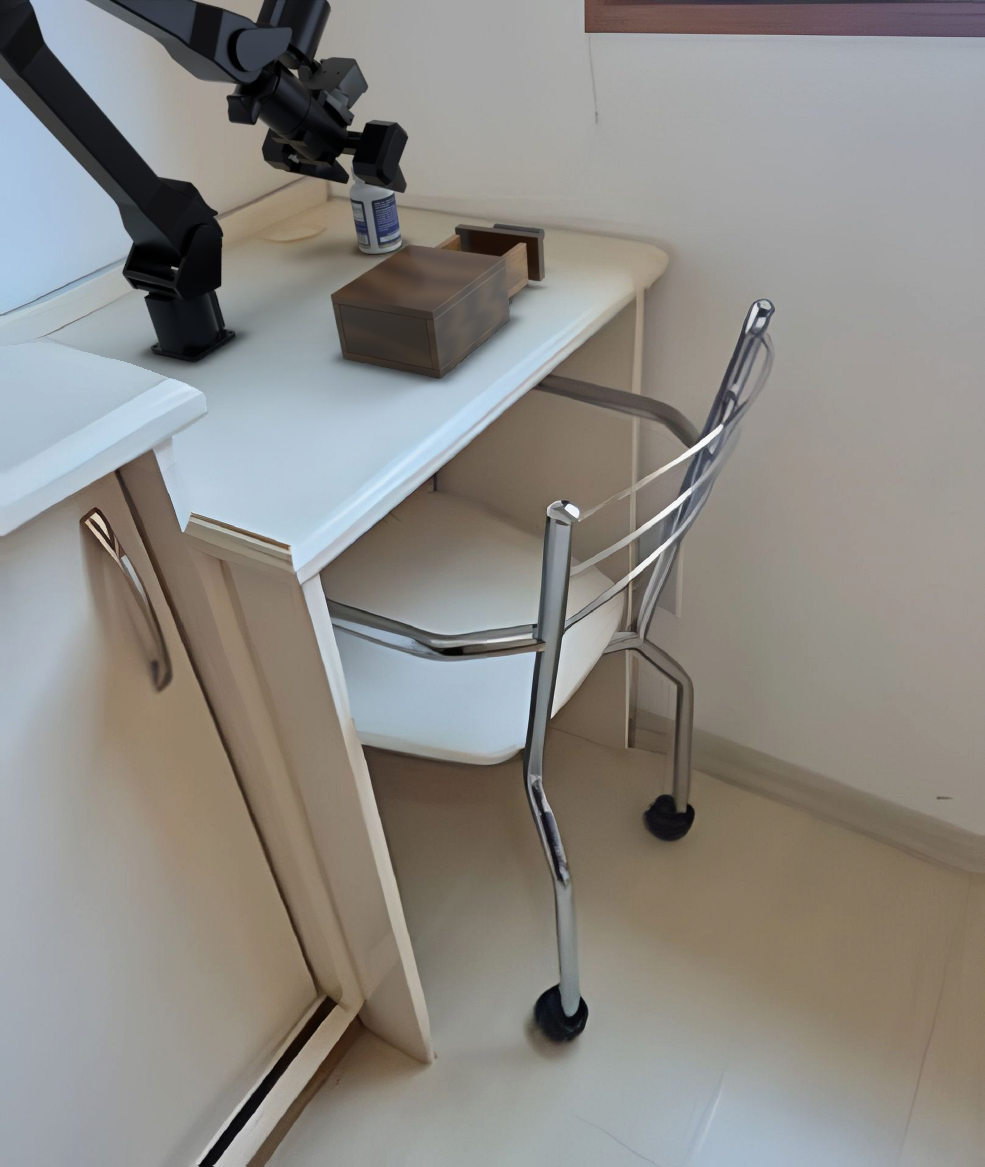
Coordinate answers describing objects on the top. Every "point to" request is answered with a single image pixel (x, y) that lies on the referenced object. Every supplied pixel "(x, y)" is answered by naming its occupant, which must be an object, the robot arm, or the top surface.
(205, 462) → the top surface
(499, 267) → the cabinet
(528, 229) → the drawer
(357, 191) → the pill bottle
